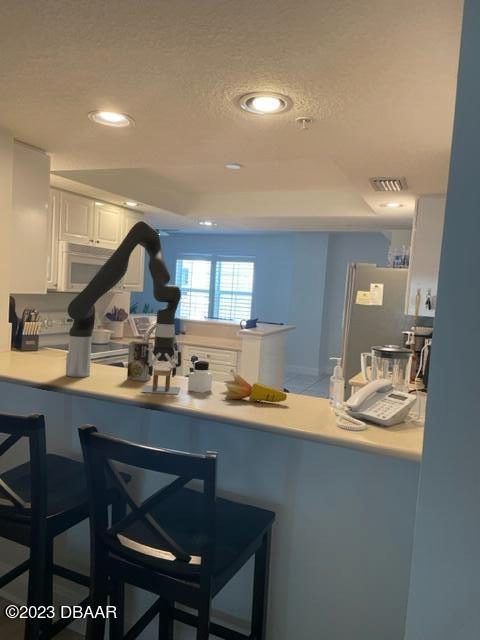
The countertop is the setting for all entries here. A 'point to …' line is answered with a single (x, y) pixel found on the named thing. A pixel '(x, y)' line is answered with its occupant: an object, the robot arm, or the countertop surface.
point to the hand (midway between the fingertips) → (162, 376)
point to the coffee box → (138, 361)
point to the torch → (251, 391)
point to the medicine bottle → (200, 378)
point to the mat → (160, 390)
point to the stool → (161, 372)
